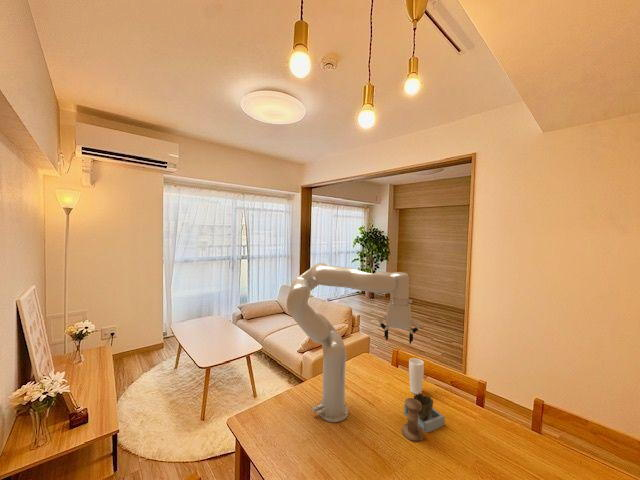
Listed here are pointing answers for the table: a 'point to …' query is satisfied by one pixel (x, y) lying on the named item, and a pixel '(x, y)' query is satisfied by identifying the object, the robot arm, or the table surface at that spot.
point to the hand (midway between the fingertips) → (398, 340)
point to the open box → (429, 420)
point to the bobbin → (412, 421)
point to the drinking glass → (416, 375)
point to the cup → (424, 406)
